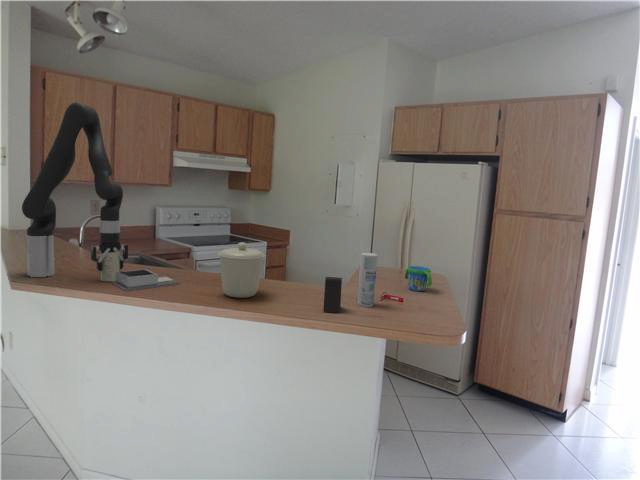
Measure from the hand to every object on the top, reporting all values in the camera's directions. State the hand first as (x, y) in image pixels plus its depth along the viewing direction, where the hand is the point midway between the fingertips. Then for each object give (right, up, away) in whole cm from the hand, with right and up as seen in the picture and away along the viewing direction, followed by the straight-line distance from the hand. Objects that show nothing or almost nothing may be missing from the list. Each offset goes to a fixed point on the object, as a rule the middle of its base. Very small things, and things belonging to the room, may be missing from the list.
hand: (110, 270), depth 178 cm
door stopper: (+92, -13, -21) cm, 95 cm away
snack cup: (+132, -11, +18) cm, 134 cm away
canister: (+56, -9, -9) cm, 58 cm away
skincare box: (0, -5, +1) cm, 5 cm away
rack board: (+16, -6, -1) cm, 17 cm away
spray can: (+106, -13, -11) cm, 107 cm away
